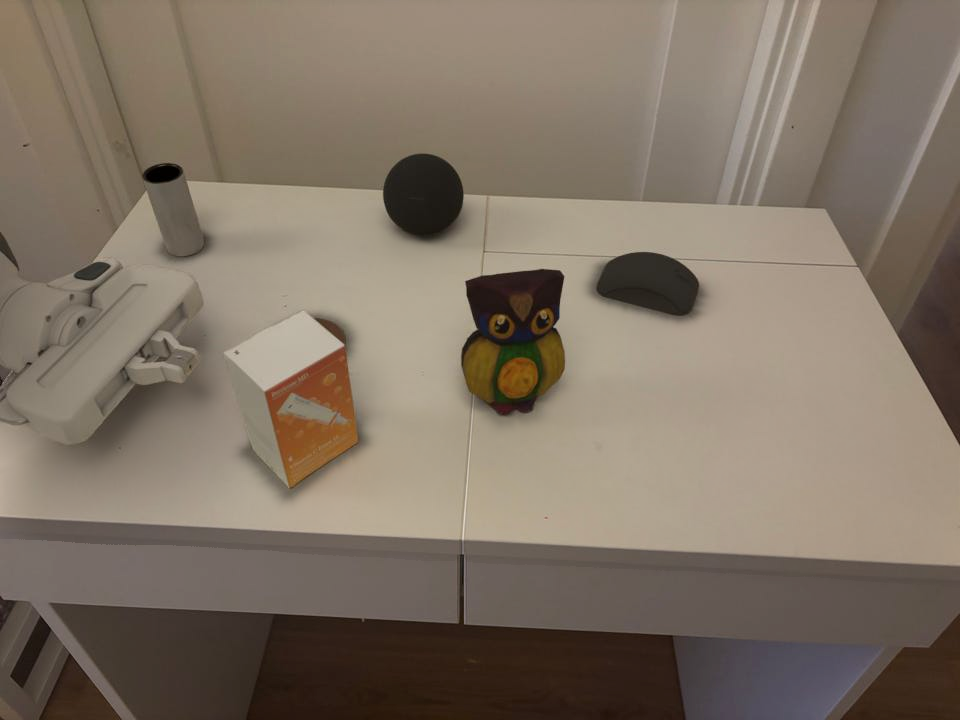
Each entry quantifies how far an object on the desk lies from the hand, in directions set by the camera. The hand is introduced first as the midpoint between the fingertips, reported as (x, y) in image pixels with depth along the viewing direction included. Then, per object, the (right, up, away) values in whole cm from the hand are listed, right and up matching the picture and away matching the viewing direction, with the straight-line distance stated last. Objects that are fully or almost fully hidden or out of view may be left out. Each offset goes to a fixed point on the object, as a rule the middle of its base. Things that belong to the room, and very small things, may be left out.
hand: (190, 366), depth 67 cm
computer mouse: (+46, +9, +21) cm, 51 cm away
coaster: (+8, +2, +13) cm, 15 cm away
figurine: (+29, -3, +9) cm, 31 cm away
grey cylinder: (-10, +15, +26) cm, 31 cm away
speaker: (+19, +17, +29) cm, 39 cm away
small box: (+10, -8, +4) cm, 13 cm away
